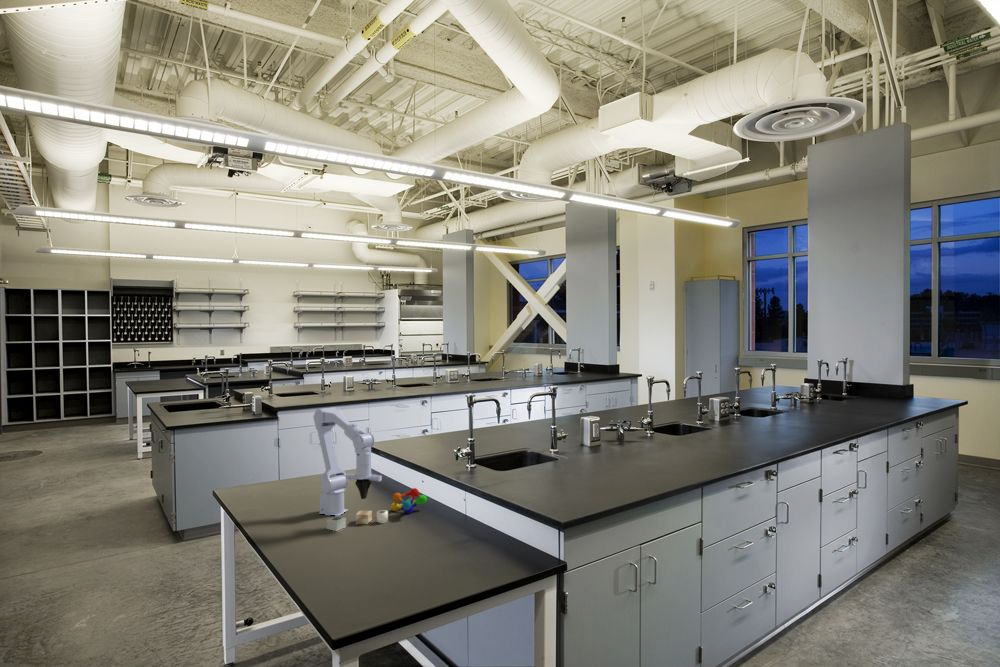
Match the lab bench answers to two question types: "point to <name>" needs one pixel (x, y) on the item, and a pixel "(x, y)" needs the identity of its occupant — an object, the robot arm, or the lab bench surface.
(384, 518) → the offwhite stopper
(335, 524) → the grey labelled block
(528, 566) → the lab bench surface
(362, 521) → the beech block
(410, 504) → the molecular model
